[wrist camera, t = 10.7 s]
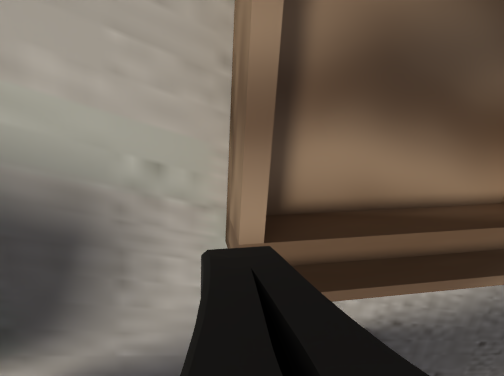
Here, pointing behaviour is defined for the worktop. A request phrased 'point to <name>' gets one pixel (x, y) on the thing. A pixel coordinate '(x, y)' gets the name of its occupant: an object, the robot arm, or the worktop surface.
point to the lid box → (370, 142)
